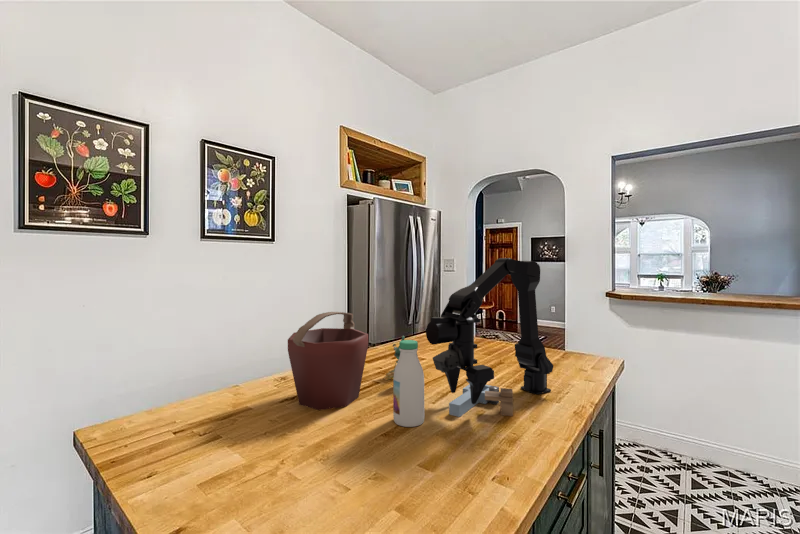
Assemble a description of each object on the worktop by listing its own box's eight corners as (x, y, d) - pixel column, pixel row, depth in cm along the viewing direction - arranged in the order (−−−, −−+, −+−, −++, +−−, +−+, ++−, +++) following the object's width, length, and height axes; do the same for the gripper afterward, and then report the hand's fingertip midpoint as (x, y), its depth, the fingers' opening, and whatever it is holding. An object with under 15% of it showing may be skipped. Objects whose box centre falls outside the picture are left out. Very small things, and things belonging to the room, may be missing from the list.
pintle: (494, 399, 109) (494, 385, 109) (501, 403, 107) (501, 388, 107) (486, 401, 108) (486, 386, 108) (493, 405, 106) (493, 389, 106)
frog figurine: (432, 373, 136) (429, 332, 135) (393, 389, 125) (389, 345, 124) (414, 366, 144) (411, 328, 142) (375, 381, 133) (372, 340, 131)
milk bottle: (428, 417, 98) (427, 339, 97) (419, 429, 91) (419, 345, 90) (399, 413, 100) (399, 337, 100) (389, 425, 93) (388, 343, 93)
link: (472, 391, 116) (472, 382, 116) (495, 396, 112) (495, 386, 112) (442, 412, 101) (442, 401, 101) (466, 418, 97) (466, 407, 97)
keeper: (485, 408, 103) (485, 386, 103) (512, 410, 102) (512, 388, 102) (484, 414, 99) (484, 391, 99) (512, 416, 98) (513, 393, 98)
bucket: (342, 380, 128) (341, 305, 127) (387, 397, 112) (386, 312, 111) (272, 400, 110) (271, 313, 110) (314, 423, 95) (313, 322, 94)
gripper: (419, 336, 107) (419, 392, 108) (458, 350, 91) (458, 416, 91) (452, 333, 112) (452, 386, 113) (495, 345, 96) (495, 408, 96)
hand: (463, 398), depth 103 cm, fingers open, 9 cm apart
